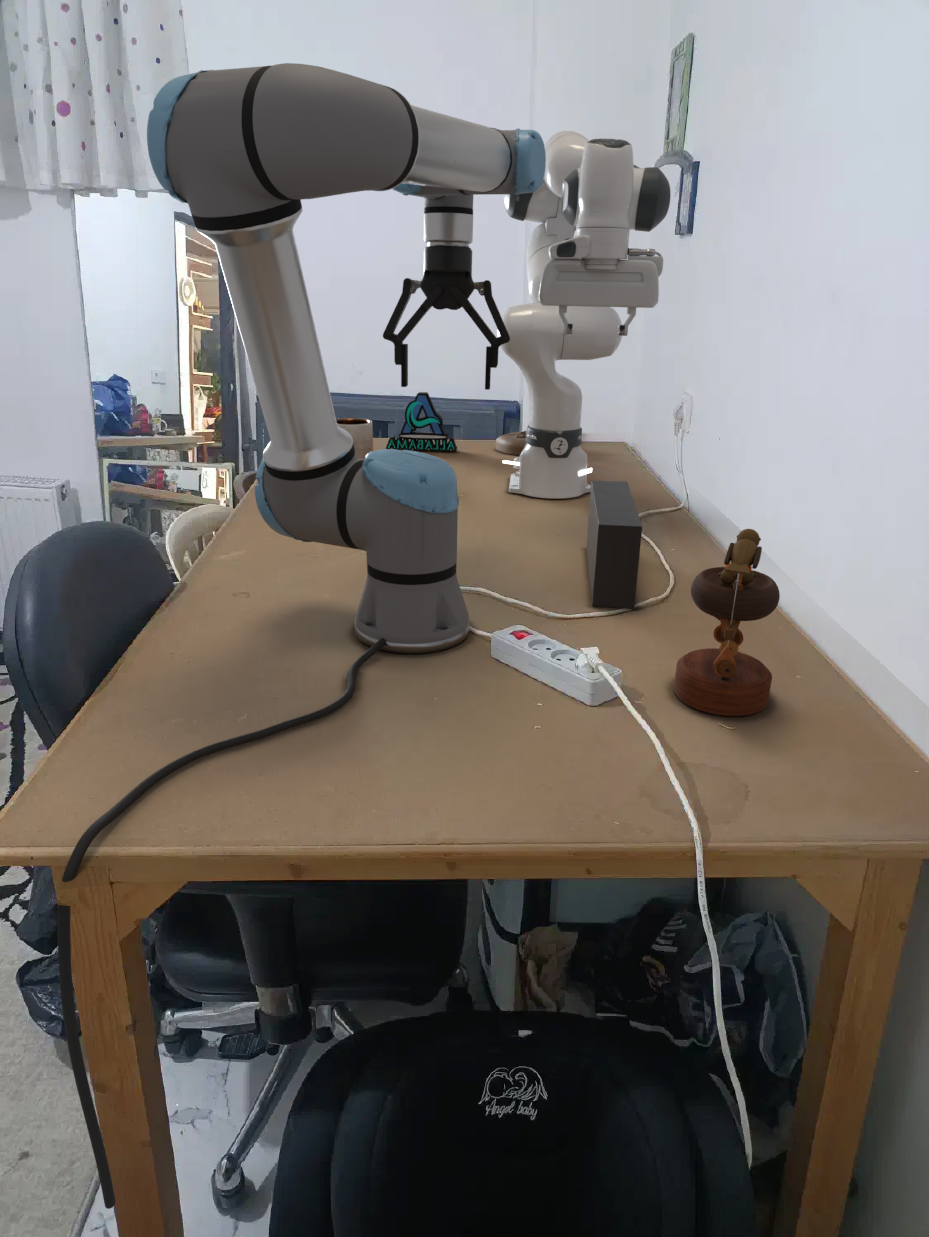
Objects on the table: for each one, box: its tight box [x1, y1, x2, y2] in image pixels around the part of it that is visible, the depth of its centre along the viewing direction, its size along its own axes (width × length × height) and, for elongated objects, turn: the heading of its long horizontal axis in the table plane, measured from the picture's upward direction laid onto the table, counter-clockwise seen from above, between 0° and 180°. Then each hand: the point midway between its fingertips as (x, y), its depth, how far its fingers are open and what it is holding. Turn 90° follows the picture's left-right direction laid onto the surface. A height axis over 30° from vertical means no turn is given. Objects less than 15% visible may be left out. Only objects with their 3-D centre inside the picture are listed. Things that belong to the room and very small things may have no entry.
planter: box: [336, 417, 375, 459], centre depth 212 cm, size 11×11×10 cm
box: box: [585, 479, 643, 609], centre depth 133 cm, size 28×6×12 cm, turn 174°
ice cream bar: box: [495, 430, 527, 456], centre depth 223 cm, size 21×28×4 cm
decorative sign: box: [385, 391, 458, 453], centre depth 224 cm, size 19×2×15 cm, turn 86°
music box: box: [673, 528, 781, 717], centre depth 94 cm, size 15×11×20 cm
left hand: (445, 387), depth 138 cm, fingers open, 13 cm apart
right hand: (595, 335), depth 147 cm, fingers open, 8 cm apart
